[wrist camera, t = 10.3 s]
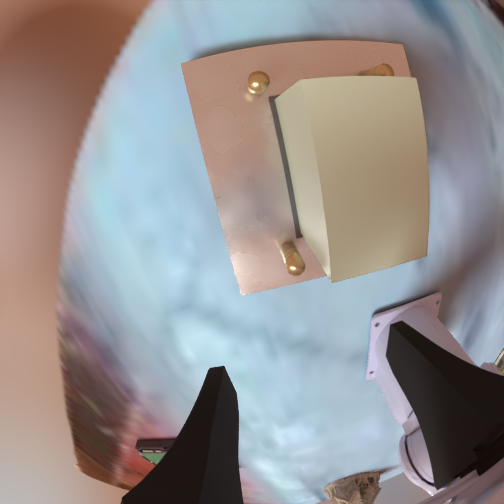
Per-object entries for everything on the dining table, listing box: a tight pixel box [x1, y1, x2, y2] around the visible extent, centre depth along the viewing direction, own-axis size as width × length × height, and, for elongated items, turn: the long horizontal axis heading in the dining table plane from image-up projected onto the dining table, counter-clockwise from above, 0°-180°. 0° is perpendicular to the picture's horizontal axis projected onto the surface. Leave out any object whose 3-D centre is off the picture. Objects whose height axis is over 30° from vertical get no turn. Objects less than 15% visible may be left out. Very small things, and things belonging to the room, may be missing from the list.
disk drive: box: [136, 439, 175, 465], centre depth 32 cm, size 10×3×15 cm
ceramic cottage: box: [324, 472, 381, 504], centre depth 42 cm, size 16×16×15 cm
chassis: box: [181, 40, 411, 295], centre depth 14 cm, size 15×14×4 cm
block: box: [275, 76, 429, 283], centre depth 12 cm, size 8×5×6 cm, turn 12°
